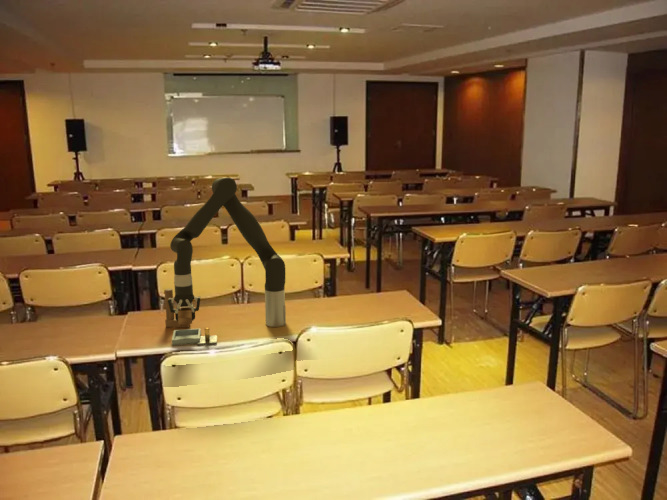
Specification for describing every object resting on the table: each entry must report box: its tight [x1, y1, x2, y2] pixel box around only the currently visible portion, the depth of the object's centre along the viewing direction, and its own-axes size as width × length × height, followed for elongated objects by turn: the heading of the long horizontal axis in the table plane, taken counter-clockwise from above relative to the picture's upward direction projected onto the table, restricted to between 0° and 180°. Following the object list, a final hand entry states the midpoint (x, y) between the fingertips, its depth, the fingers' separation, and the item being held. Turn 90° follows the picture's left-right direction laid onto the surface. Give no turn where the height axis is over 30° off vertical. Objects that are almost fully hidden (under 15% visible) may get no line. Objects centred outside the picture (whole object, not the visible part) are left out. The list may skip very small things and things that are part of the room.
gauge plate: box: [197, 327, 218, 347], centre depth 243 cm, size 8×8×6 cm
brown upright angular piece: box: [164, 288, 191, 329], centre depth 260 cm, size 4×11×18 cm, turn 90°
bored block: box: [178, 307, 193, 325], centre depth 244 cm, size 6×6×6 cm
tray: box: [171, 328, 202, 346], centre depth 246 cm, size 12×12×2 cm
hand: (185, 320), depth 244 cm, fingers closed on bored block, 5 cm apart
